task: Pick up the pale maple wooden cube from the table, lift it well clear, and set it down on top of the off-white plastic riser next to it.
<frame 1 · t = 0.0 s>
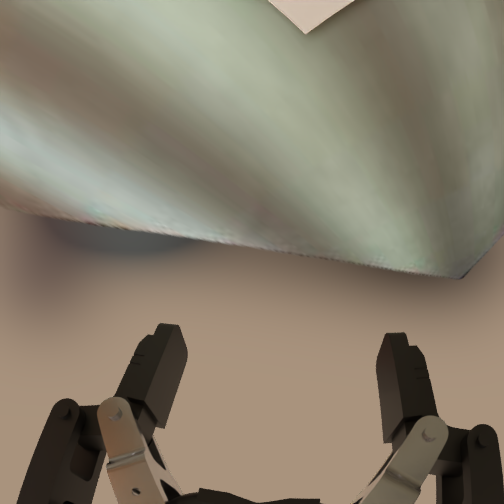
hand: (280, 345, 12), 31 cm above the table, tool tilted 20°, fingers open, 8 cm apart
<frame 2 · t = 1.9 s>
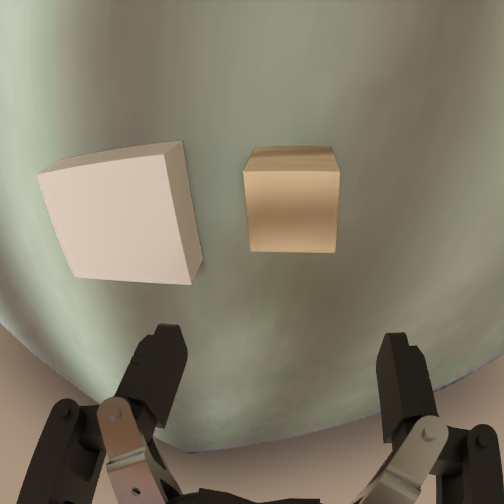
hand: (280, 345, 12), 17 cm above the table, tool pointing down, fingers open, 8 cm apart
riser: (127, 207, 29), on the table
maple cube: (294, 180, 25), on the table
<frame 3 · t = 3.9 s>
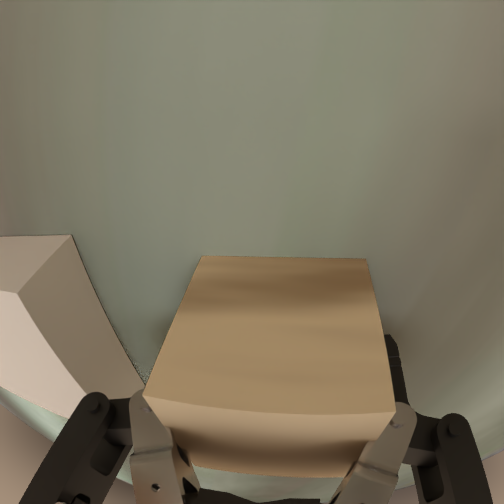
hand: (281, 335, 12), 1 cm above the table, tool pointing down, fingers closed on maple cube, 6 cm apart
riser: (33, 314, 16), on the table
maple cube: (283, 316, 13), on the table, touching gripper
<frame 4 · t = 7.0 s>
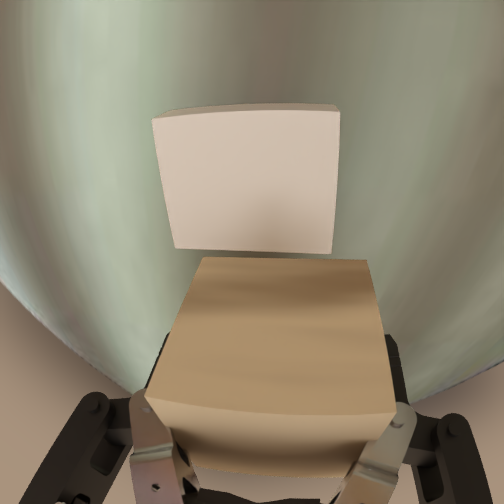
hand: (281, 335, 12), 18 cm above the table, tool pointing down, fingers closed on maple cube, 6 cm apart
riser: (253, 169, 27), on the table
maple cube: (284, 317, 13), point 17 cm above the table, touching gripper
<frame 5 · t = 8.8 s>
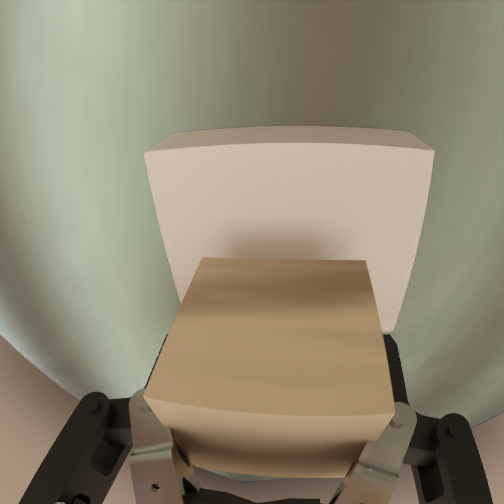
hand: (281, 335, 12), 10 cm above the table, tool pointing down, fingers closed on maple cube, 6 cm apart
riser: (292, 219, 20), on the table
maple cube: (283, 317, 13), point 9 cm above the table, touching gripper
when the fingers open (6 cm above the table, at t = 10.4 s): maple cube drops 1 cm, resting on riser.
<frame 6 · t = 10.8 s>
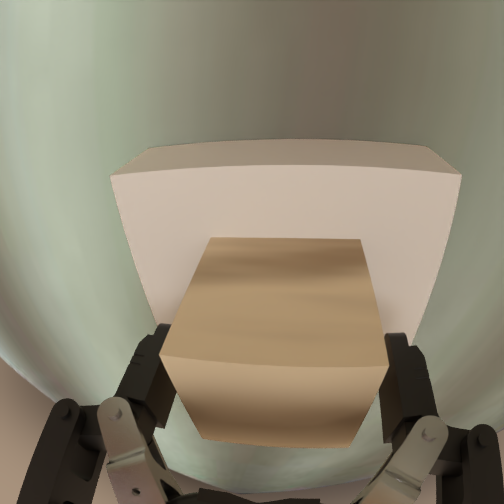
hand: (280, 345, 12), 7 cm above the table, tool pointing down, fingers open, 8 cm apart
riser: (288, 246, 17), on the table
maple cube: (285, 295, 14), point 4 cm above the table, touching riser
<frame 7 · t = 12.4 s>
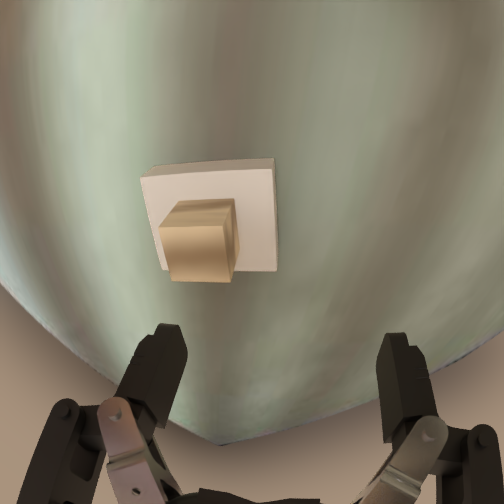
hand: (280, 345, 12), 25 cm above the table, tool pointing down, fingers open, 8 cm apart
riser: (217, 209, 37), on the table
maple cube: (209, 225, 33), point 4 cm above the table, touching riser
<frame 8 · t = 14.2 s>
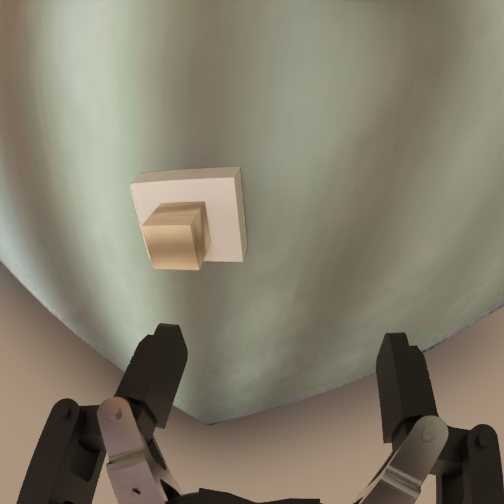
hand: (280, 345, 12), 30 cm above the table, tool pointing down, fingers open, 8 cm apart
riser: (194, 209, 43), on the table
maple cube: (186, 222, 40), point 4 cm above the table, touching riser
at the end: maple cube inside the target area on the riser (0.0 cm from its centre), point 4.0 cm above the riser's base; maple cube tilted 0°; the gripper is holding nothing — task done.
